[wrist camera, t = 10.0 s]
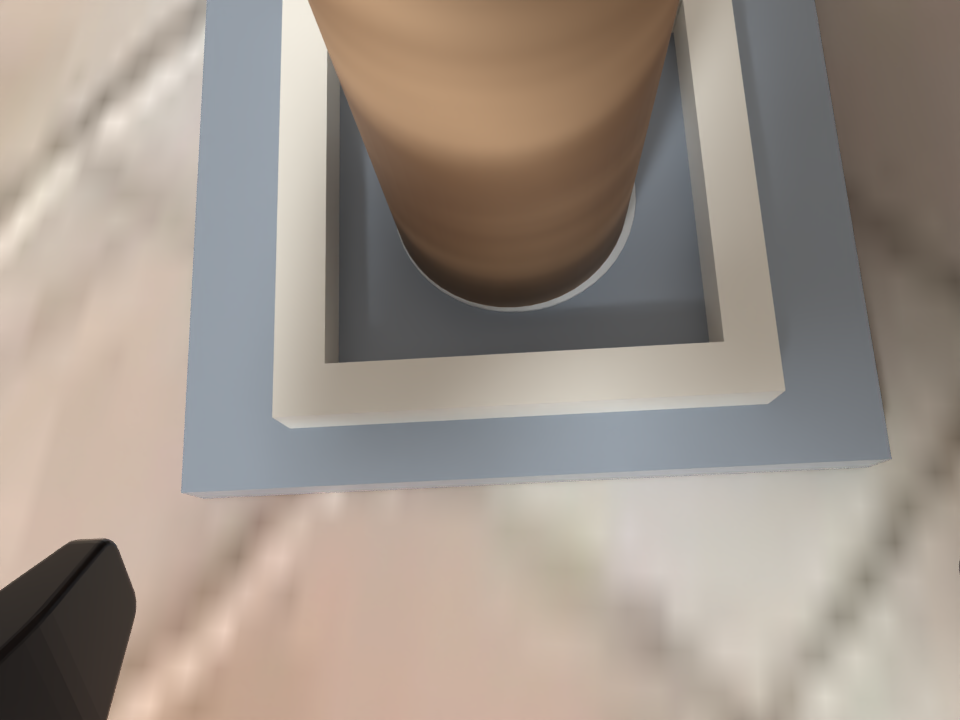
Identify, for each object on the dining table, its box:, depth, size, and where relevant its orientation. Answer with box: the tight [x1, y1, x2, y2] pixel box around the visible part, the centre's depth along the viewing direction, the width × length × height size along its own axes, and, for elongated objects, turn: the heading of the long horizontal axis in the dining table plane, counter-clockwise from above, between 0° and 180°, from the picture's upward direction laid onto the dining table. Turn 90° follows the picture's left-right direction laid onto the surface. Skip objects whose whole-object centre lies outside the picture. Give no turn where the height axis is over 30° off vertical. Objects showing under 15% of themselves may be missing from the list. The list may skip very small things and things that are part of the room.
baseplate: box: [181, 0, 892, 498], centre depth 19 cm, size 18×14×2 cm
